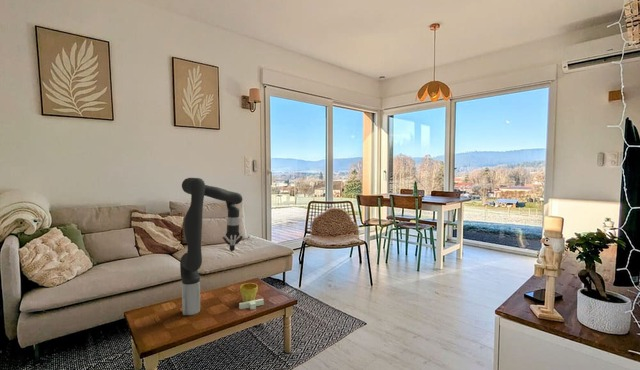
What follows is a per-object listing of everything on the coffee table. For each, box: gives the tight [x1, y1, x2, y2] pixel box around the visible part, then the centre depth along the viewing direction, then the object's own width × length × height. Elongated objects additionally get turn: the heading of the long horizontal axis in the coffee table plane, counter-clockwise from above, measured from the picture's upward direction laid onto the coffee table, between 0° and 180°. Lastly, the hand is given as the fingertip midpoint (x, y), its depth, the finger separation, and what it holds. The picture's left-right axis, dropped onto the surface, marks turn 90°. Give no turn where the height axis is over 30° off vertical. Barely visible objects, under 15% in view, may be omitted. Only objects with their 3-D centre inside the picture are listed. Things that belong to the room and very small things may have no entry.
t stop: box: [238, 298, 265, 310], centre depth 179 cm, size 14×5×3 cm, turn 117°
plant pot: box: [239, 282, 259, 302], centre depth 186 cm, size 10×10×10 cm
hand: (232, 250), depth 197 cm, fingers closed
